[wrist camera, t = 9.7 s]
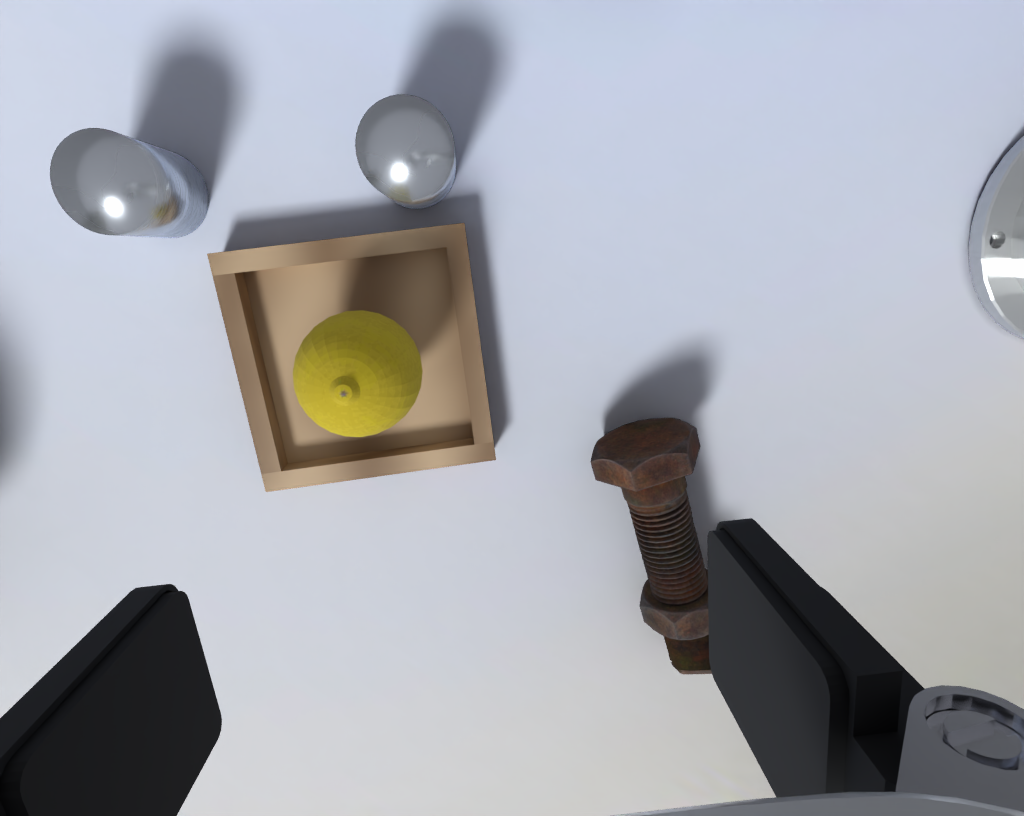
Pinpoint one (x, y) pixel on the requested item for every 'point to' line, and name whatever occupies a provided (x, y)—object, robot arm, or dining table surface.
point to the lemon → (357, 373)
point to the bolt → (663, 530)
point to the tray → (352, 287)
